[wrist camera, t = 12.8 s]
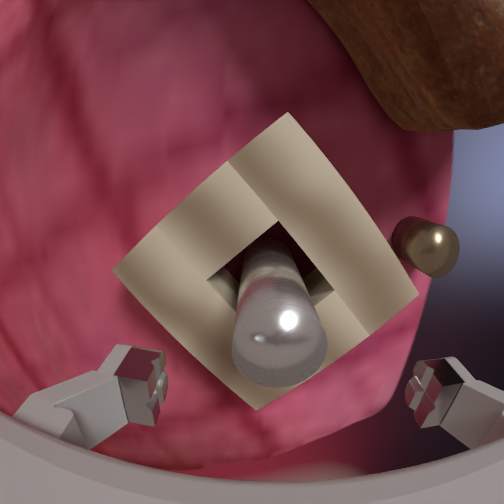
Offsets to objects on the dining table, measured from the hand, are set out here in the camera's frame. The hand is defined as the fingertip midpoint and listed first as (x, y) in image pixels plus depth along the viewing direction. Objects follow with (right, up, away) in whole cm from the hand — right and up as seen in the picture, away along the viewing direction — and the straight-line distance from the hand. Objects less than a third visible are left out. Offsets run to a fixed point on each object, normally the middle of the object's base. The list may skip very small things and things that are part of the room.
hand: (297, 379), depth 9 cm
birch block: (0, +3, +14) cm, 14 cm away
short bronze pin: (+11, +5, +13) cm, 18 cm away
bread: (+8, +26, +8) cm, 29 cm away
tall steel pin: (0, +3, +14) cm, 14 cm away
